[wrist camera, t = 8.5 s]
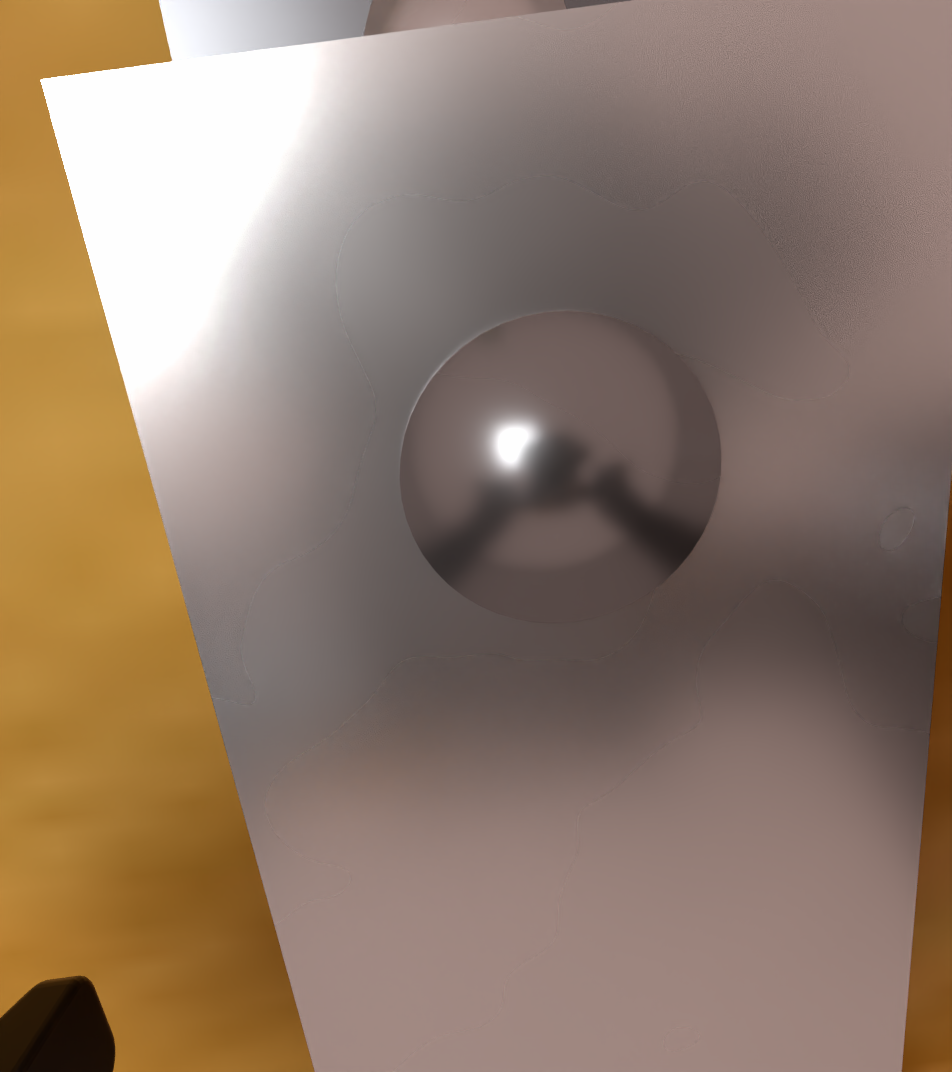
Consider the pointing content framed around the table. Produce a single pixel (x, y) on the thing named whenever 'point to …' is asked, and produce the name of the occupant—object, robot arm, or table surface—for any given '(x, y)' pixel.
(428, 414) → the master link
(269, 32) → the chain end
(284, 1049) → the table surface
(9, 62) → the table surface
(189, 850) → the table surface
